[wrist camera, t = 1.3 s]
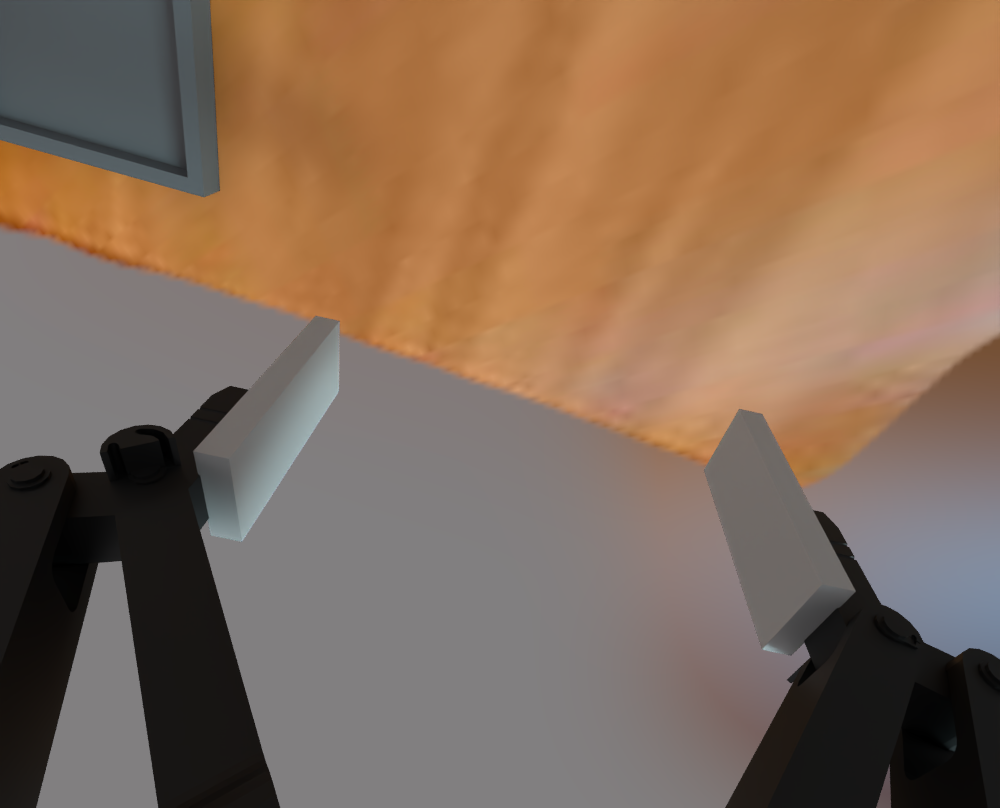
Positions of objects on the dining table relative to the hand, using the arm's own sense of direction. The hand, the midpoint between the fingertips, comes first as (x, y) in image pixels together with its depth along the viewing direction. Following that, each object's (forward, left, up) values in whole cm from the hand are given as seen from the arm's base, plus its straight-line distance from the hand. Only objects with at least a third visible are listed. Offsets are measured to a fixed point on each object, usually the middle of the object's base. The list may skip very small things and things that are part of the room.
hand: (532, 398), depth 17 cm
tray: (-4, -30, -23) cm, 38 cm away
